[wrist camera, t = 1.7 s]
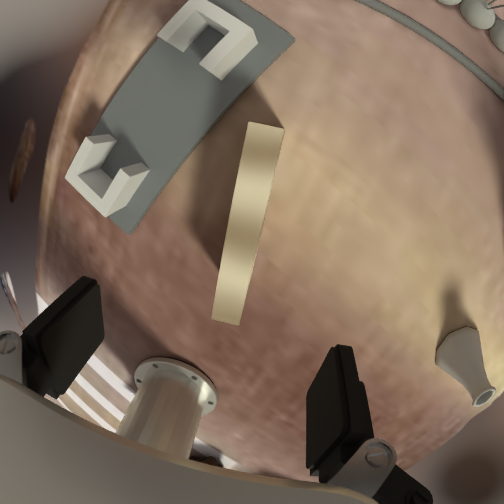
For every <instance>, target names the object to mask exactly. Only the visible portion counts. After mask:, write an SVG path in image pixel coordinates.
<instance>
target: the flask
mask: <svg viewBox="0 0 504 504" xmlns="http://www.w3.org/2000/svg"><path fill="white" fill-rule="evenodd" d="M436 365H437V366H438V367H440V368H441V369H442V370H444V371H445V372H447V373H448V374H449V375H451V376H452V377H453V378H455V379H456V380H457V381H458V382H460V383H461V384H462V385H463V386H464V387H465V388H466V389H467V391H468V392H469V393H470V395H471V397H472V399H473V403H472V405H473V407H479V406H481V405H483V404H485V403H487V402H488V401H489V400H490V399H491V398H492V397H493V396H494V393H495V391H496V388H495V387H492V386H491V385H490V383H489V381H488V378H487V375H486V372H485V369H484V363H483V356H482V350H481V343H480V336H479V331H478V330H475V329H472V328H469V327H464V328H462V329H459V330H457V331H454V332H452V333H449V334H448V335H447V337H446V338H445V340H444V341H443V342H442V344H441V345H440V347H439V348H438V349H437V354H436Z"/></svg>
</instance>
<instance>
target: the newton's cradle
mask: <svg viewBox="0 0 504 504" xmlns="http://www.w3.org/2000/svg"><path fill="white" fill-rule="evenodd" d="M355 1H358V2H360V3H362V4H364V5H366V6H368V7H370V8H372V9H375V10H377V11H379V12H381V13H382V14H384V15H386V16H388V17H390V18H392V19H394V20H396V21H397V22H399V23H401V24H403V25H404V26H406V27H408V28H410V29H411V30H413V31H414V32H416V33H418V34H419V35H421V36H423V37H424V38H426V39H427V40H429V41H430V42H432V43H433V44H435V45H436V46H438V47H439V48H440V49H442V50H443V51H445V52H446V53H448V54H449V55H450V56H452V57H453V58H454V59H456V60H457V61H458V62H460V63H461V64H462V65H463V66H465V67H466V68H467V69H468V70H470V71H471V72H472V73H473V74H474V75H476V76H477V77H478V78H479V79H480V80H482V81H483V82H484V83H485V84H486V85H487V86H488V87H489V88H491V89H492V90H493V91H494V92H495V93H496V94H497V95H498V96H499V97H500V98H501V99H502V100H503V101H504V89H503V88H502V87H501V86H500V85H499V84H497V83H496V82H495V81H494V80H493V79H492V78H491V77H490V76H489V75H488V74H487V73H485V72H484V71H483V70H482V69H481V68H480V67H478V66H477V65H476V64H475V63H474V62H472V61H471V60H470V59H469V58H468V57H466V56H465V55H464V54H462V53H461V52H460V51H459V50H457V49H456V48H455V47H453V46H452V45H451V44H449V43H448V42H446V41H445V40H444V39H442V38H441V37H439V36H438V35H436V34H435V33H433V32H432V31H430V30H429V29H427V28H426V27H424V26H423V25H421V24H419V23H418V22H416V21H414V20H413V19H411V18H409V17H408V16H406V15H404V14H403V13H401V12H399V11H397V10H395V9H393V8H392V7H390V6H388V5H386V4H384V3H382V2H380V1H378V0H355ZM437 1H439V2H440V3H443V4H446V5H456V4H458V3H460V11H461V14H462V16H463V17H464V19H465V20H466V21H467V22H468V23H469V24H470V25H472V26H473V27H475V28H478V29H489V33H490V37H491V40H492V42H493V43H494V44H495V46H496V47H497V48H498V49H500V50H501V51H503V52H504V20H501V19H500V18H499V17H498V16H497V15H496V14H495V13H494V10H493V9H494V8H499V7H504V5H500V6H495V7H491V5H490V4H492V3H493V2H495V1H496V0H493V1H491V2H490V3H488V2H487V1H486V0H437Z"/></svg>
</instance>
